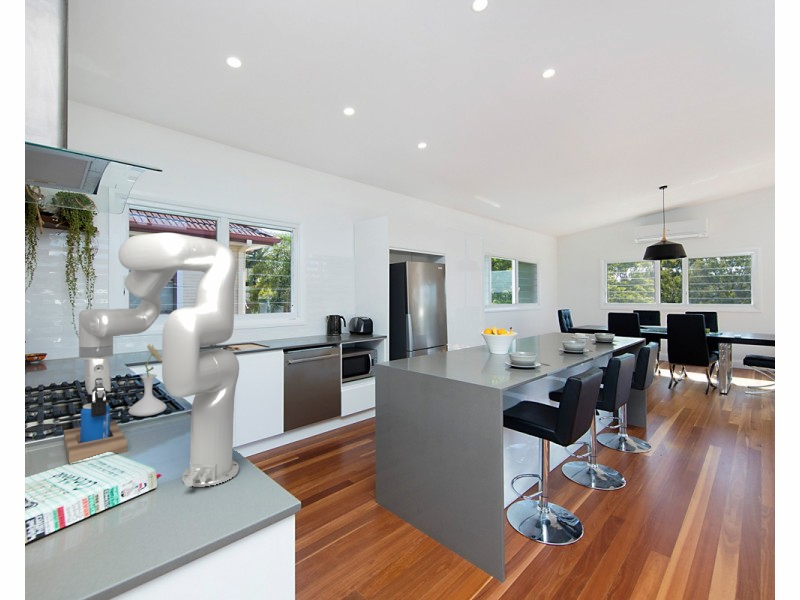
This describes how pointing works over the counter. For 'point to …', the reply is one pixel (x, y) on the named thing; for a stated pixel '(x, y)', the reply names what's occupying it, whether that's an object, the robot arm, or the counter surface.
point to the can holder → (93, 444)
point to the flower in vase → (148, 392)
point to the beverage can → (94, 425)
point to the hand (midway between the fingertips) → (96, 411)
